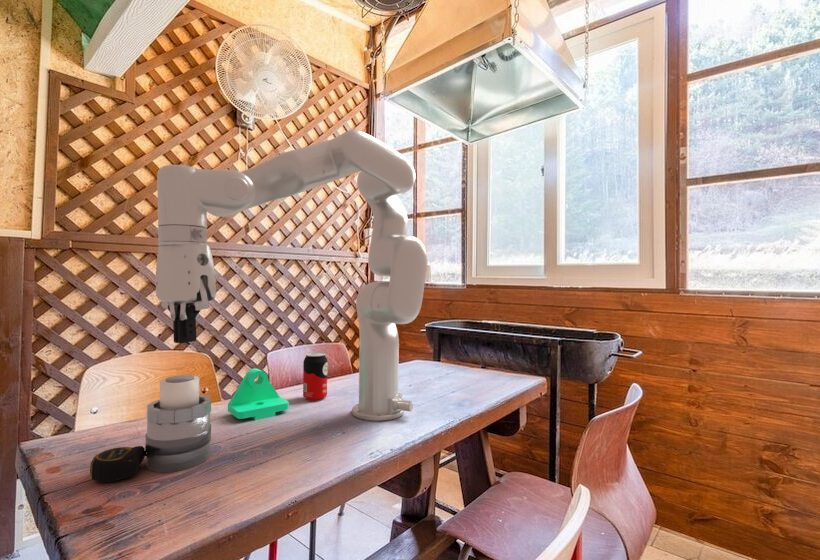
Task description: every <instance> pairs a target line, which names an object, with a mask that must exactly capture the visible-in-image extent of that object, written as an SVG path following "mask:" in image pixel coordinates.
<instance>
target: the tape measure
mask: <svg viewBox="0 0 820 560" xmlns="http://www.w3.org/2000/svg"><path fill="white" fill-rule="evenodd" d="M145 457H147V452H146V451H145V447H144V446H143V445H137V446H133V447H131V446H130V447H129V446H120V447H114V448H110V449H107V450H104V451H101V452H99V453H97V454H96V455H95V456H94V457H93V458H92V460H91V461H90V465H89V467H90V468H89V475H90V477H91V479H92V480H93V481H95V482H99V483H112V482H114V481H115V482H116V481H119V480H123V479H127V478H131V477H134V476H135V475H136V474H137V473H138V471H139V467H140V466H141V465H142V463H143V461H144V460H145Z"/></svg>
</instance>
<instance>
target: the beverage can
mask: <svg viewBox="0 0 820 560" xmlns="http://www.w3.org/2000/svg"><path fill="white" fill-rule="evenodd" d="M302 363H303V366H302V367H303V370H302V371H303V372H302V373H303V376H302V377H303V378H302V383H303V384H302V386H303V388H302V396H303V398H304V399H305V400H306V401H310V402H319V401H323V400H324V399H325V398H326V397H327V396H328V358H327V357H326V353H325V352H317V351H316V352H309V353H306V354H305V357H304V359H303V362H302Z"/></svg>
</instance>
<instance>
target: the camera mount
mask: <svg viewBox="0 0 820 560" xmlns="http://www.w3.org/2000/svg"><path fill="white" fill-rule="evenodd" d="M256 378H257V379H256ZM255 379H256V380H255ZM289 409H290V402H289V401H288V400H286V399H284V398H283V397H280V395H279V394H278V392H277V391H276V389H275V387H274V386H273V384H272V383H271V381H270V380H269V377H268V374H267V372H265V371H263V370H261V369H259V368H251V369H249V370H248V371H246V374H245V375H244V377H243V378H242V380H241V382H240V383H239V385H238V387H237V388H236V390H235V392H234V393H233V396H232V397H231V398H230V400H229V402H228V404H227V412H228V413H229V414H231V415H232V416H234V418H236V419H238V420H242V419H243V420H244V419H248V418H251V419H253V420H254V421H258V420H264V419H267V418H268V419H269V418H271V417H272V418H273V417H276V413H279V412H282V411H287V410H289Z"/></svg>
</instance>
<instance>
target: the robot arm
mask: <svg viewBox="0 0 820 560" xmlns="http://www.w3.org/2000/svg"><path fill="white" fill-rule="evenodd" d="M356 173H358V175H357V179H356V184H357V188H358V191H359V193H360V195H361V196H362V198H364V200H365V201H366V203H367V204H368V205H369V207H370V209H371V213H372V217H373V222H372V223H373V224H372V230H371V231H372V232H371V237H370V244H369V250H368V257H367V258H368V259H367V260H368V267H369V270H370V271H371V272H372V273H373V274H375V275H376V276H379V277H384V278H385V277H387V278H388V277H389V281H373V282H370V283H367V284H366V285H363V286H362V287H361V289H359V292H358V293H357V297H356V300H355V304H356V305H355V307H356V309H355V310H356V315H357V319H358V329H359V332H358V333H359V348H358V349H359V352H358V353H359V354H358V355H359V356H358V357H359V358H358V359H359V361H358V363H359V364H358V403H355V405H353V407H352V409H351V414H352V416H354V417H356V418H357V419H360V420H366V421H374V422H375V421H377V422H378V421H389V420H394V419H398V418H400V417H401V416H403V415H404V414H405V412H411V413H412V412H413V408H414V404H413V401H412V400H408V399H404V398H403V393H402V392H399V361H400V358H399V357H400V356H399V353H400V352H399V351H400V339H399V332H398V328H397V325H406V324H410V323H412V322H413V321H414V320H415V319H416V318H417V317H418V315H419V314H420V312H421V308H422V305H423V304H422V303H423V298H424V293H425V292H424V291H425V284H426V278H427V270H428V255H427V250H426V248H425V245H424V244H423V242H422V241H421V240H420V239H419V238H417V237H416V236H413V235H407V233H408V220H409V219H408V214H407V210H406V208H405V206H404V204H403V203H402V201H401V199H400V197H399V195H403V194H405V193H407V192H408V191H410V190H411V189H412V187H413V186H414V184H415V181H416V170H415V168H414V166H413V164H412V163H411V161H410V160H409V159H408V158H407V157H406V156H404V155H403V154H402V153H400V152H399V151H397V150H395V149H394V148H392V147H390V146H389V145H388V144H386V143H384V142H383V141H381V140H379V139H377V138H376V137H374V136H372V135H371V134H369V133H366V132H364V131H361V130H359V129H349V130H346V131H345V132H342V133H341V134H340V135H338V136H335V137H334V138H331V139H329V140H325V141H321V142H317V143H315V144H312V145H311V144H310V145H307V146H304V147H300V148H296V149H292V150H289V151H286V152H282V153H281V154H278V155H276V156H274V157H273V158H270V159H268V160H266V161H265V162H263V163H261V164H258V165H256V166H254V167H251V168H249V169H246V170H244V171H238V170H235V169H210V168H209V169H208V168H207V169H205V168H204V169H203V168H197V167H194V166H191V165H190V166H189V165H183V164H167V165H163V166H161V167H159V168H158V171H157V173H156V175H157V176H156V178H157V179H156V182H157V185H156V187H157V221H158V222H157V226H158V227H157V231H158V232H157V233H158V234H157V235H158V237H157V239H158V244H157V245H158V250H157V255H156V256H157V257H156V267H155V294H156V298H157V300H158V301H160V302H161V305H160V306H161V307H162V308H164V309H165V310H168V311H169V314H170V315H169V316H170V319H171V320H172V321H173V322H172V323H173V324H172V325H173V326H172V327H173V329H172V330H173V343H175V344H186V343H191V342H196V341H197V319H199V315H200V312H201V311H203V310H206V309H208V308H209V306H210V303H209V302H212V301H213V300H215V298H216V296H217V295H216V294H217V293H216V292H217V290H216V289H217V287H216V274H215V265H214V263H215V262H214V258H213V255H212V249H211V246H210V245H208V221H207V220H208V217H207V213H209V214H210V215H212V216H215V217H218V218H225V217H229V216H231V215H232V216H233V215H235V214H238V213H240V212H244V211H246V210H249V209H251V208H254V207H257V206H261V205H263V204H266V203H269V202H272V201H276V200H281V199H283V198H288V197H292V196H295V195H298V194H300V193H303V192H306V191H309V190H313V189H315V188H318V187H320V186H323V185H326V184H330V183H332V182H335V181H338V180H340V179H344V178H346V177H349V176H351V175H354V174H356Z"/></svg>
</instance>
